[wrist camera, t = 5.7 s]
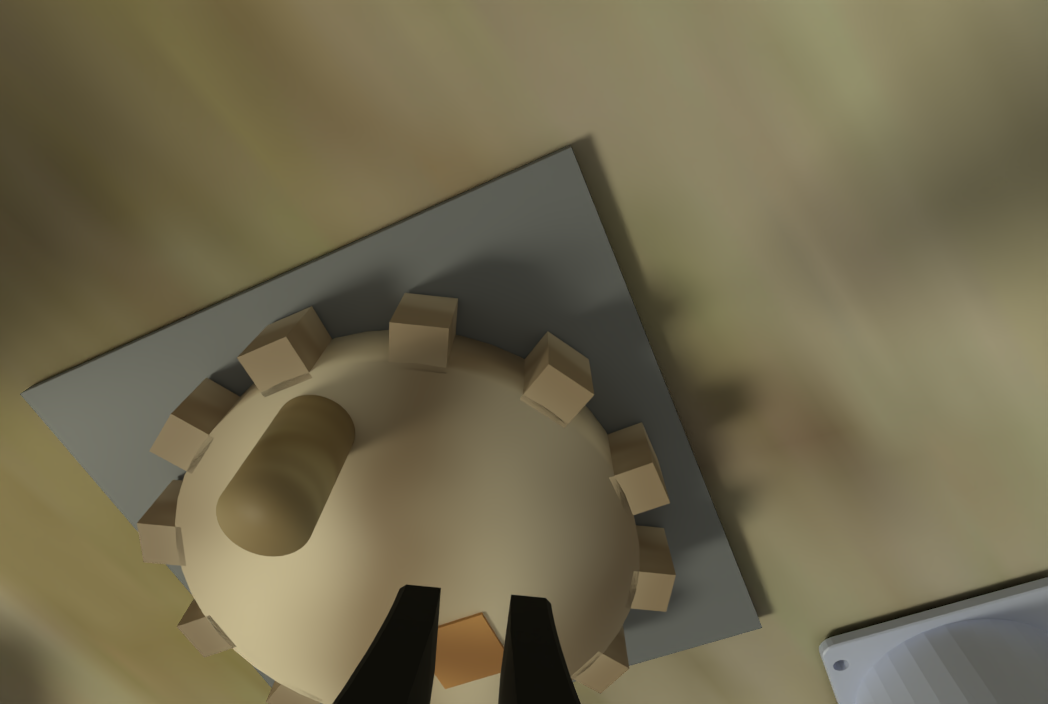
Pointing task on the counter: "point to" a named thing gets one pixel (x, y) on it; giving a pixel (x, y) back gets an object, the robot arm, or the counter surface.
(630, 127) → the counter surface
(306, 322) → the sprocket
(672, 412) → the index plate
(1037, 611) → the robot arm
